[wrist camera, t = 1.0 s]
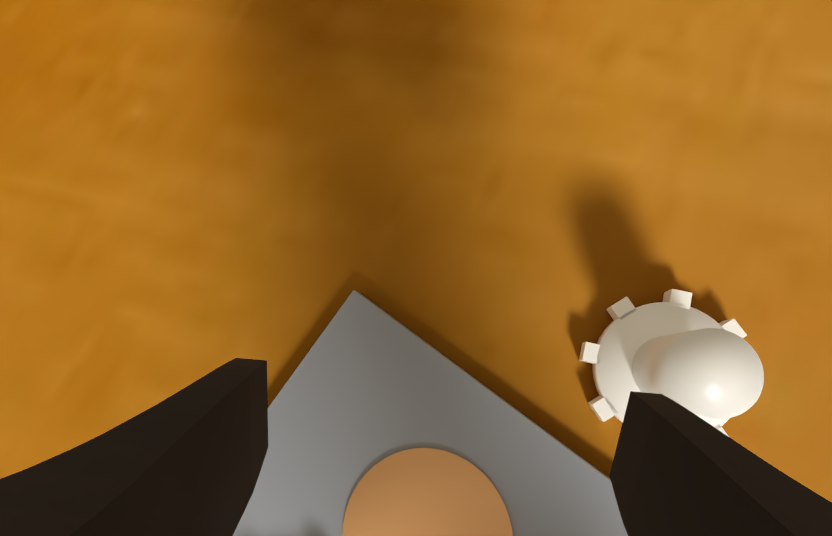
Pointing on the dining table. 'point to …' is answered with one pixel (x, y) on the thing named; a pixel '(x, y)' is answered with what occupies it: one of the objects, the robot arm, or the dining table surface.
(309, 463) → the plate
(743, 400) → the planet gear
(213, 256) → the dining table surface
